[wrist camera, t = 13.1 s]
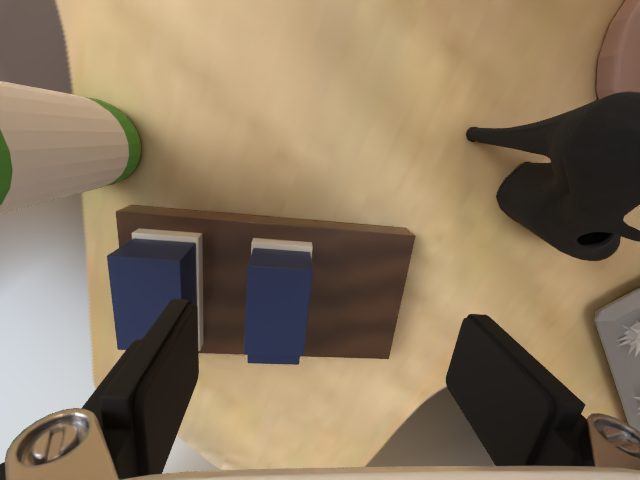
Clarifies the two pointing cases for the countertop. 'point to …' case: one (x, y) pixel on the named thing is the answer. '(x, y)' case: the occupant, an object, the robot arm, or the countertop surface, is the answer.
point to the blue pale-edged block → (277, 300)
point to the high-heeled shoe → (575, 175)
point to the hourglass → (620, 53)
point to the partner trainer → (154, 280)
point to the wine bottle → (60, 145)
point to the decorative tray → (623, 349)
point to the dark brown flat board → (327, 281)
